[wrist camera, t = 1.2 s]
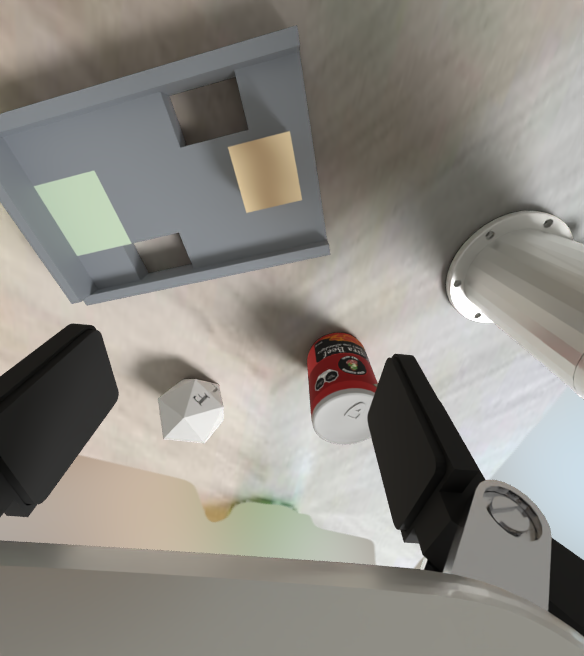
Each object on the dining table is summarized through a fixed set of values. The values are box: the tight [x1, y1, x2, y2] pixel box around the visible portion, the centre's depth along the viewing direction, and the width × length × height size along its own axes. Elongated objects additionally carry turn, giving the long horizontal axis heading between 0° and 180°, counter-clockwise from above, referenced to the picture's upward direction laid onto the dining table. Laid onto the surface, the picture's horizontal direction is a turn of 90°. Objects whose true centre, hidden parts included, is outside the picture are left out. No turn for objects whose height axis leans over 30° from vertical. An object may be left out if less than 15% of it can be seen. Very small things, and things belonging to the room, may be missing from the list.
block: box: [228, 131, 302, 213], centre depth 23 cm, size 4×4×4 cm
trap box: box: [0, 25, 330, 305], centre depth 25 cm, size 26×16×5 cm, turn 102°
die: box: [158, 379, 224, 443], centre depth 38 cm, size 8×9×10 cm
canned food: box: [307, 333, 378, 445], centre depth 34 cm, size 8×8×11 cm
